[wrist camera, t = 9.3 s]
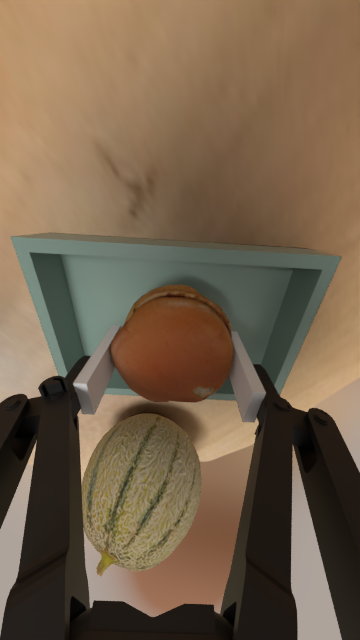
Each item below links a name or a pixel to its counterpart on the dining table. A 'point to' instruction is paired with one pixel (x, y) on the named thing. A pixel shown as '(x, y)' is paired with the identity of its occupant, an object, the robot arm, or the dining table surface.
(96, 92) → the dining table surface
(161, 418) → the cantaloupe
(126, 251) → the teal tray
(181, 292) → the burger
